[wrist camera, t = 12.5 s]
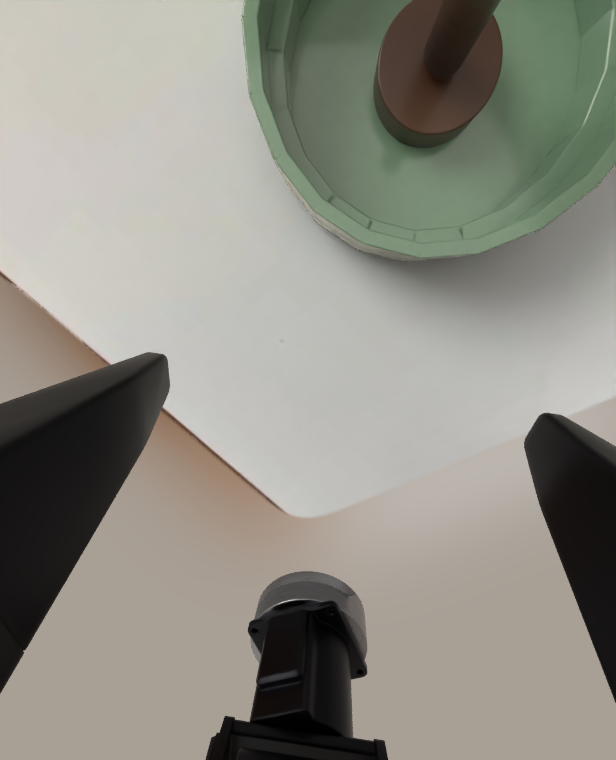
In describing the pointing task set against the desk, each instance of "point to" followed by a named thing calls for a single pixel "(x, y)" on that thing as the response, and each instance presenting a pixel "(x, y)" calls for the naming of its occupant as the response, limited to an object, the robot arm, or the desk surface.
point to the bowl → (451, 159)
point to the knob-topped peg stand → (437, 69)
